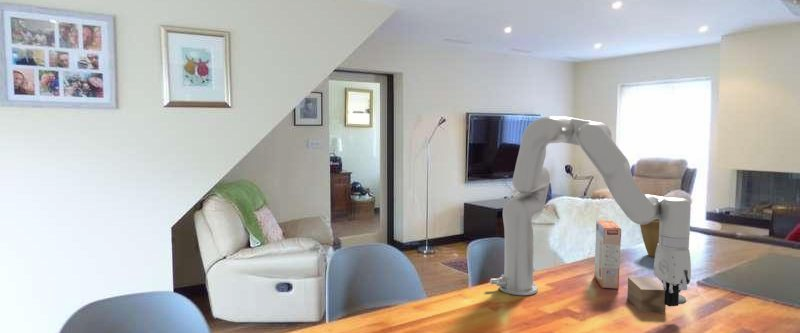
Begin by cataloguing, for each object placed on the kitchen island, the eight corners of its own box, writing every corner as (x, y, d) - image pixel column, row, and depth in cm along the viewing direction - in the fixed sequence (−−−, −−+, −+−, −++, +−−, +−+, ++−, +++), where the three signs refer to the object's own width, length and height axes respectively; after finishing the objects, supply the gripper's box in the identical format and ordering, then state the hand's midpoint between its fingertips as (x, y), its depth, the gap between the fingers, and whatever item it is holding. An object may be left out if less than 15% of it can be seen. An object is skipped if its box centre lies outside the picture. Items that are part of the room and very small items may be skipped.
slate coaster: (665, 304, 157) (666, 302, 157) (647, 294, 166) (647, 292, 166) (692, 302, 158) (692, 300, 158) (672, 292, 167) (672, 291, 167)
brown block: (640, 312, 151) (641, 289, 150) (627, 298, 163) (628, 277, 162) (665, 313, 150) (666, 290, 149) (650, 299, 162) (651, 277, 161)
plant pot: (679, 254, 215) (680, 216, 213) (676, 262, 202) (678, 222, 201) (640, 249, 223) (641, 213, 221) (635, 257, 210) (636, 219, 209)
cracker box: (620, 289, 171) (622, 228, 169) (601, 288, 172) (602, 227, 170) (611, 277, 184) (613, 220, 182) (593, 276, 185) (595, 219, 184)
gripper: (645, 236, 150) (642, 297, 151) (679, 248, 135) (677, 315, 137) (668, 235, 151) (665, 295, 153) (705, 247, 136) (702, 314, 138)
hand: (671, 305), depth 145 cm, fingers closed
